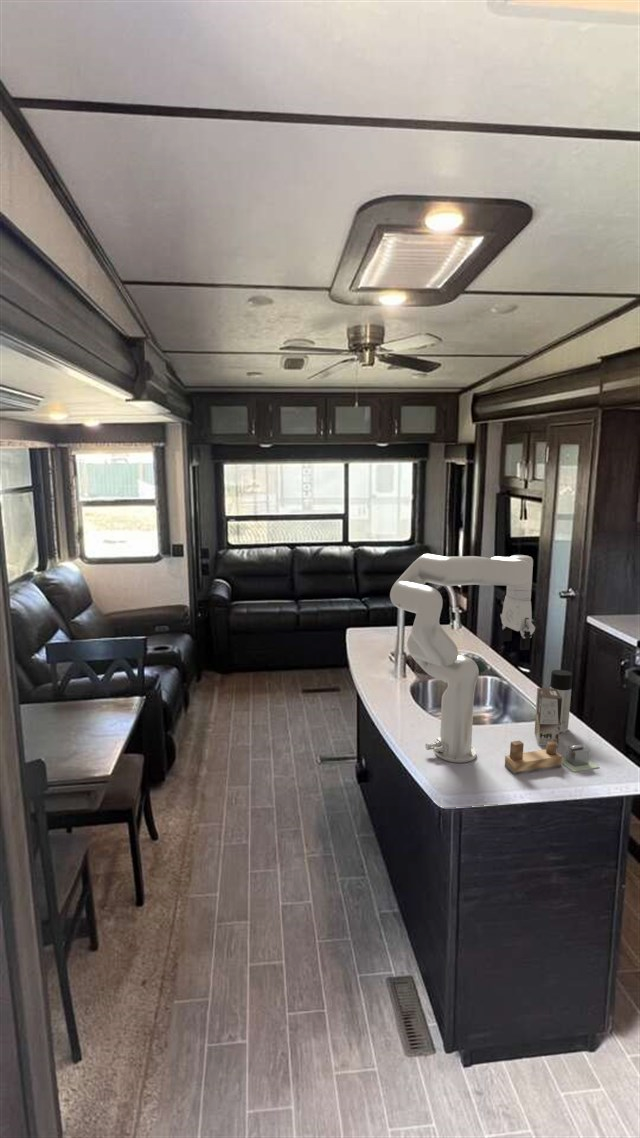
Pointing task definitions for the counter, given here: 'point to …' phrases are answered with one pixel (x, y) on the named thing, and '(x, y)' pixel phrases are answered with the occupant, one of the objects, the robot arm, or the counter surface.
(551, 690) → the coffee box
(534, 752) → the wooden peg block
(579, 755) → the lever cap
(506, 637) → the robot arm
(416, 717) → the counter surface
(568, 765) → the felt pad
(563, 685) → the spray can
